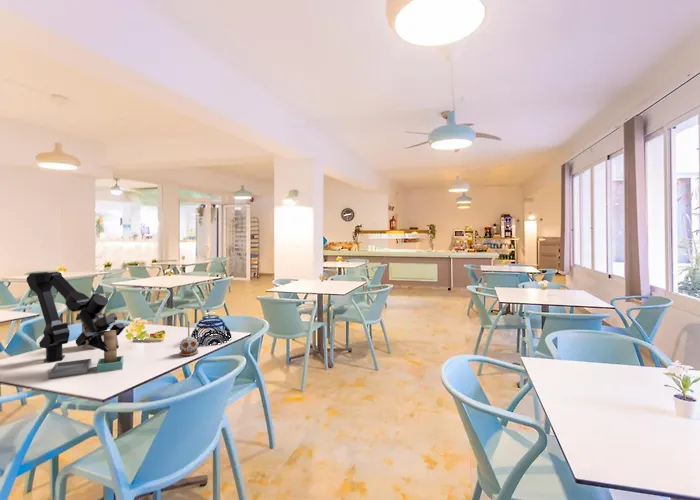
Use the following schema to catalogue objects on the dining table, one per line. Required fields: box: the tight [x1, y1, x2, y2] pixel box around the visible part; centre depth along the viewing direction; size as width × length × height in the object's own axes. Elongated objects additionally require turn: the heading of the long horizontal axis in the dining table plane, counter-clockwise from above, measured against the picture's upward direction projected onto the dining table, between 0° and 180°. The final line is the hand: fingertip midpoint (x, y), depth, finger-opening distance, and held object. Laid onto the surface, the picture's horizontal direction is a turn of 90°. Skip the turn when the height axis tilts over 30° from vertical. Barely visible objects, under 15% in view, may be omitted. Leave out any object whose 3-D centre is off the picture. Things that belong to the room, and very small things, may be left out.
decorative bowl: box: [190, 311, 232, 345], centre depth 198 cm, size 20×20×14 cm
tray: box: [47, 358, 93, 380], centre depth 154 cm, size 14×12×2 cm
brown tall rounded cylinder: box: [103, 330, 118, 364], centre depth 157 cm, size 4×4×15 cm
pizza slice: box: [132, 330, 166, 344], centre depth 204 cm, size 16×21×3 cm
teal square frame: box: [96, 355, 124, 373], centre depth 158 cm, size 9×9×3 cm
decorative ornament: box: [179, 321, 199, 357], centre depth 175 cm, size 8×8×15 cm
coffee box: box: [81, 312, 107, 350], centre depth 186 cm, size 9×6×16 cm
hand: (112, 349), depth 157 cm, fingers closed on brown tall rounded cylinder, 4 cm apart
